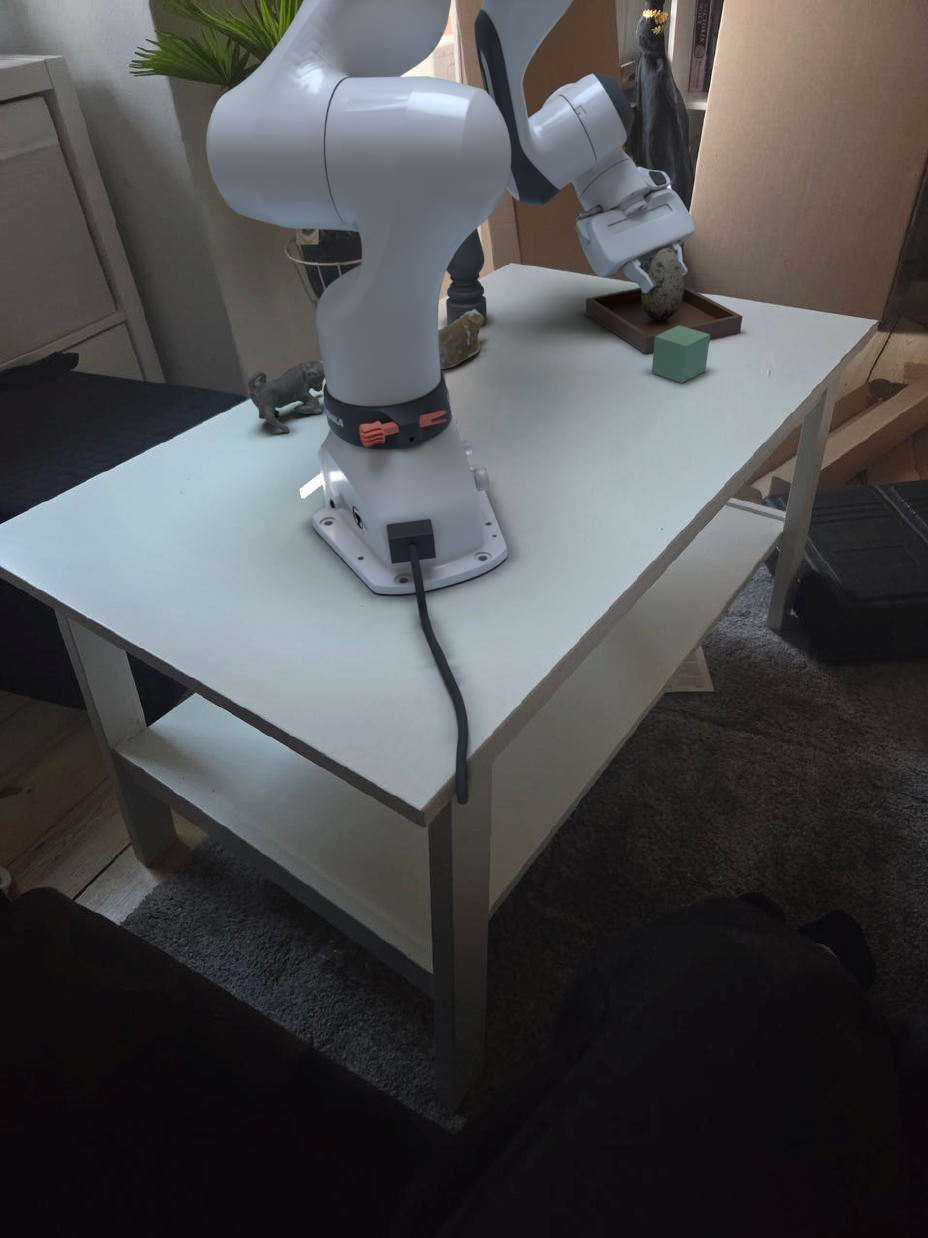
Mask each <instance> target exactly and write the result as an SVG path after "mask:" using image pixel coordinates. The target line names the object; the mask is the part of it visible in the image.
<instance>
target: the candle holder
mask: <svg viewBox="0 0 928 1238" xmlns="http://www.w3.org/2000/svg"><path fill="white" fill-rule="evenodd" d="M484 266H485V253H484V249H483V245H482V242H481V238H480V234H479V230H478V227H477V228H476V229H475V230H474V231H473V232H472V233H471V234H470V235H469V236H468V237H467V238H466V239H465V240H464V241H463V243H462V244H461V245H460V247H459V248H458V249H457V251H456V252H455V254H454V256H453V257H452V259H451V261H450V263H449V265H448V267H447V270H446V273H447V274H449V279H450V280H451V283H450V284H449V286H448V288H447V289H446V296H447V297H448V298H447V299H446V300H445V305H446V319H447V321H446V323H447V326H448V325H450V324H452V323H453V322H454V321H455V320H457V319H459V318H460V317H461V316H463V315H464V314H465V313H466V312H468V311H472V310H474V309H475V310H476V311H477V312H479V313H480V314H481V315H482V316H483V318H484V321H483V323H482V325H481V327H483V326H485V325H486V324H488V312H487V311H488V309H487V298H486V297H485V295H484V294H485V287H484V286H483V285H482V283H481V281H480V280H479V278H480V277H481V276H480V273H481V271H482V269H483V267H484Z"/></svg>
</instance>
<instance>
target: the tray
mask: <svg viewBox="0 0 928 1238" xmlns="http://www.w3.org/2000/svg"><path fill="white" fill-rule="evenodd" d="M683 286H684V287H683V298H682V302H681V304H680V307H679V308H678V310H677V311H676V313H675V314H674V315H672V316H671V317H670V318H668V319H665V320H655V319H653V318H651V317H649V316H648V315H647V314H646V312H645V311H644V309H643V306H642V301H641V291H642V290H641V288H640V287H635V288H631V289H627V290H621V291H616V292H611V293H606V294H601V295H597V296H592V297H587V298H585V315H586V316H588V317H589V318H591V319H592V320H594V321H595V322H597V323H598V324H600V326H603V327H604V328H606V329H607V330H609V331H610V332H611V333H613V334H614V335H616V336H617V337H618V338H620V339H622V340H623V341H624V342H626V343H628V344H629V345H631V346H632V347H633V348H635V349H637V350H638V351H640V352H641V353H642V354H644V355H648V354H652V353H654V342H655V336H657V335H659V334H661V333H663V332H666V331H668V330H670V329H672V328H674V327H676V326H678V325H680V326H683V327H686V328H690V329H693V330H697V331H700V332H703V333H707V334H710V340H713V339H718V338H723V337H727V336H732V335H736V334H740V333H741V330H742V329H741V328H742V324H743V315H741V314H739V313H737V312H735V311H734V310H731V309H729V308H728V307H726V306H724V305H722V304H721V303H718V302H716V301H715V300H712V299H711V298H708V297H707V296H705V295H703V294H701V293H699V292H698V291H695V289H692V288H689V287H688V286H686V285H684V284H683Z"/></svg>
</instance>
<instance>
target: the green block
mask: <svg viewBox="0 0 928 1238" xmlns="http://www.w3.org/2000/svg"><path fill="white" fill-rule="evenodd" d="M710 340H711V339H710V334H707V333H703V332H700V331H697V330H693V329H690V328H686V327H683V326H680V325H678V326H676V327H674V328H672V329H670V330H668V331H666V332H663V333H661V334H659V335H657V336H655V342H654V352H653V354H652V355H653V356H652V366H651V373H652V374H654V375H657V376H660V377H663V378H665V379H668V380H672V381H674V382H676V383H680V384H684V383H686V382H687V381H689V380H692V379H693V378H695V377H697V376H699V375H701V374H703V373H705V372H706V370H707V362H708V355H709V354H708V353H709V347H710Z"/></svg>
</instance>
